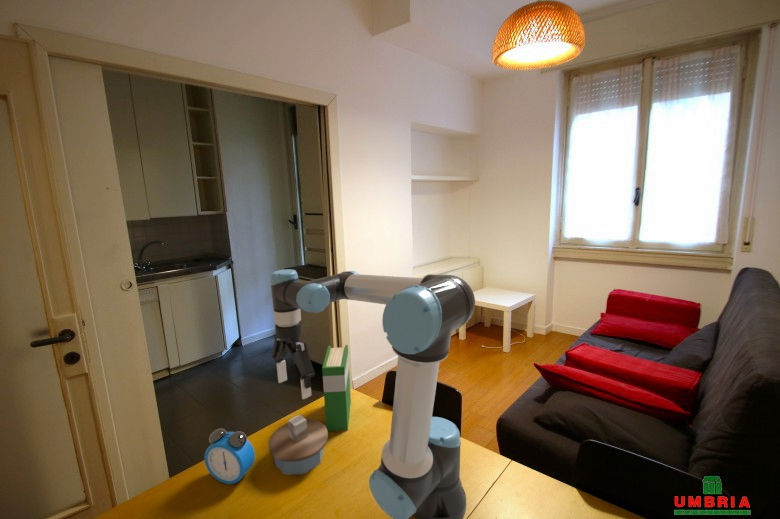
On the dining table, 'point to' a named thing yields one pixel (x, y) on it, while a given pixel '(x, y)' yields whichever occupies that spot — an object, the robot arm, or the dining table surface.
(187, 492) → the dining table surface
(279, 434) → the lid
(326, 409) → the hardback book
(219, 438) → the alarm clock
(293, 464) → the bowl
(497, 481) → the dining table surface
